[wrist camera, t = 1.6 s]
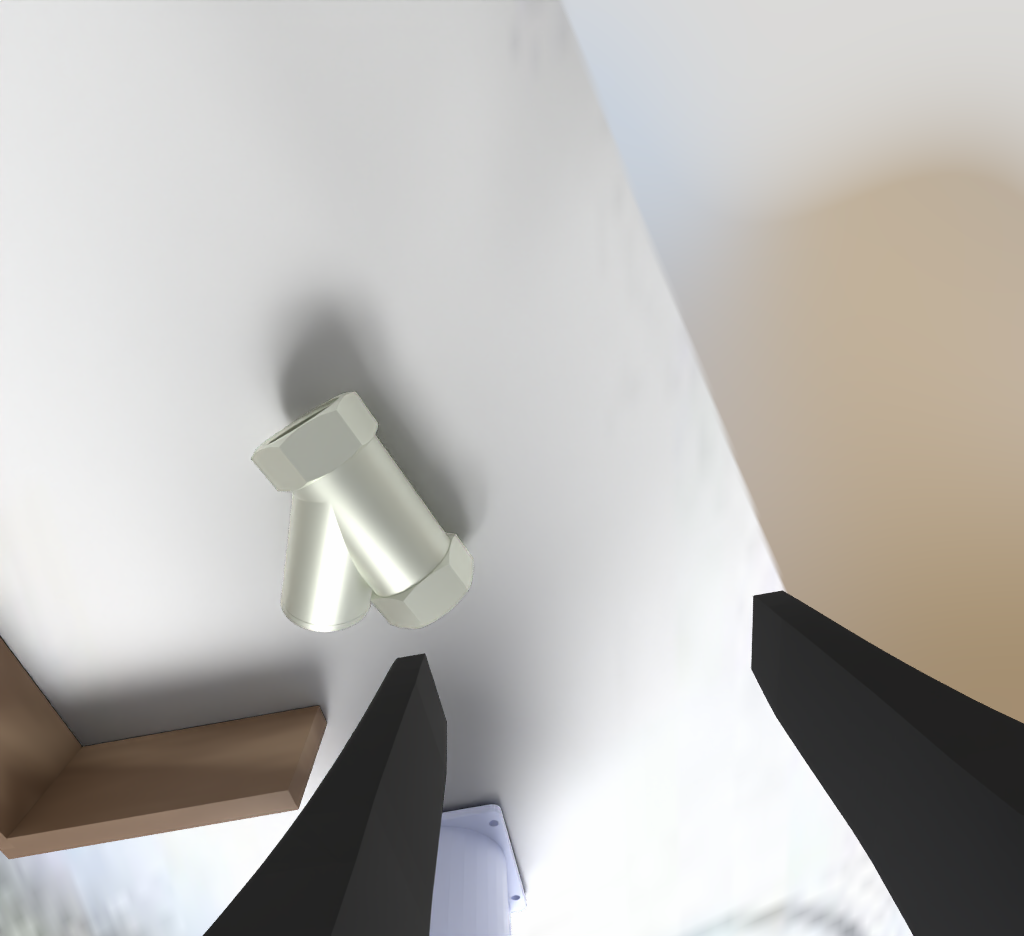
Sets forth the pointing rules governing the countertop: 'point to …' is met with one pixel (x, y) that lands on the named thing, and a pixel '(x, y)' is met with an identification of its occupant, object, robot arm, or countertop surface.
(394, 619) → the pipe fitting
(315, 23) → the countertop surface
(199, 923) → the countertop surface
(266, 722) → the corner arena
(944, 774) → the robot arm
